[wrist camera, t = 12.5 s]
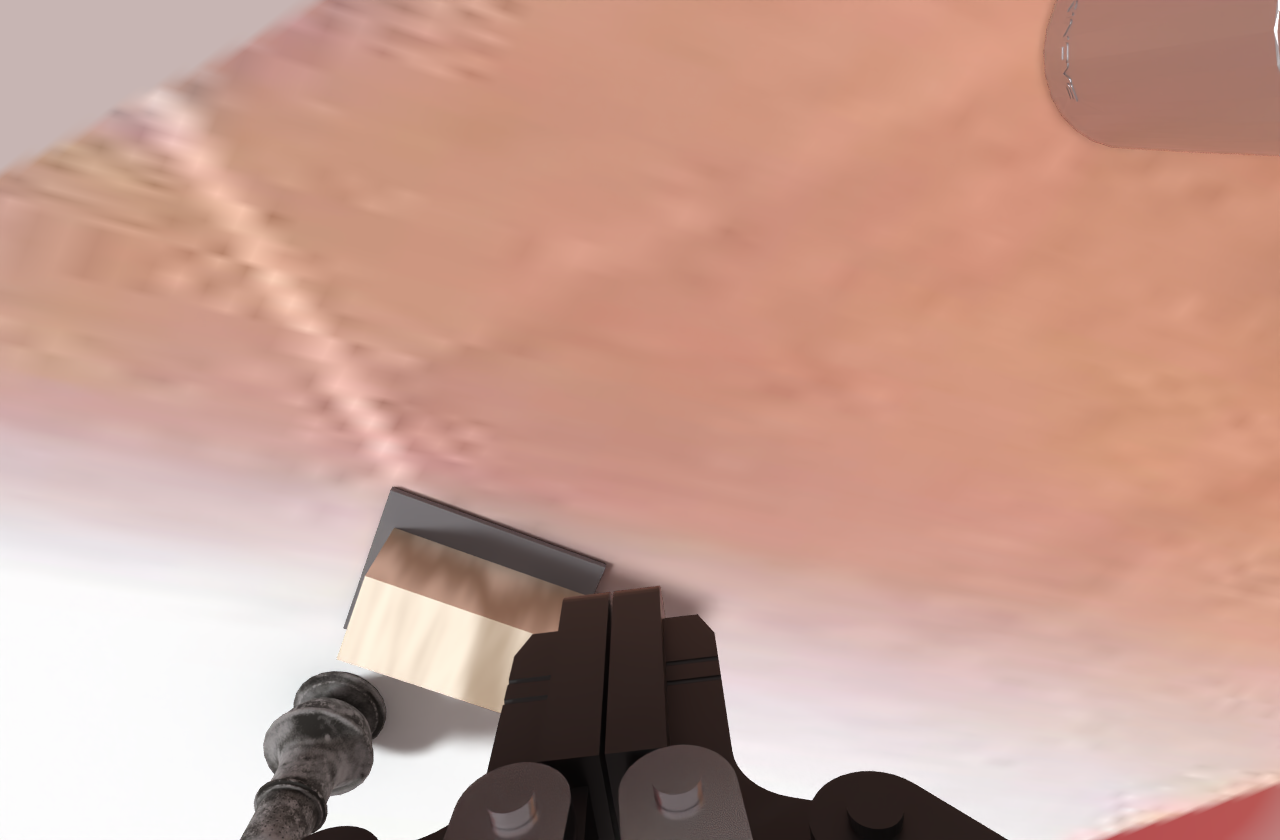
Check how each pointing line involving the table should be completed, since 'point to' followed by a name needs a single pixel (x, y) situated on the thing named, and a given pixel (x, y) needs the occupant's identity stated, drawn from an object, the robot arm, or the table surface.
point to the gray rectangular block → (482, 543)
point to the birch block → (447, 619)
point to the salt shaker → (316, 754)
